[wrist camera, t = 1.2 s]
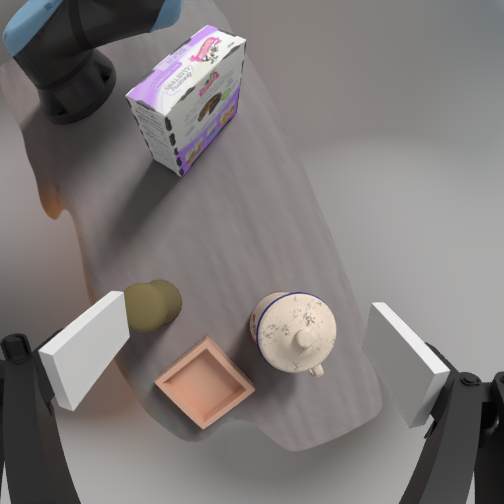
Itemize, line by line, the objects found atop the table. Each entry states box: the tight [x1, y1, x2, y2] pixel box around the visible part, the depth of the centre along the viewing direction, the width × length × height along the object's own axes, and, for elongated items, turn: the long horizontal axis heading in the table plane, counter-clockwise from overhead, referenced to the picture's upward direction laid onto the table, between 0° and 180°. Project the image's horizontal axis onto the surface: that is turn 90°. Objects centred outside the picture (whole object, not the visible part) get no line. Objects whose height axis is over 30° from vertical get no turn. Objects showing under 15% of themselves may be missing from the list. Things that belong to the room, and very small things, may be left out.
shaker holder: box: [154, 334, 255, 429], centre depth 34 cm, size 9×9×4 cm
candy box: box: [126, 25, 246, 177], centre depth 32 cm, size 14×6×16 cm, turn 147°
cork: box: [124, 280, 182, 333], centre depth 31 cm, size 6×6×11 cm
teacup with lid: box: [250, 292, 336, 378], centre depth 32 cm, size 12×9×12 cm
